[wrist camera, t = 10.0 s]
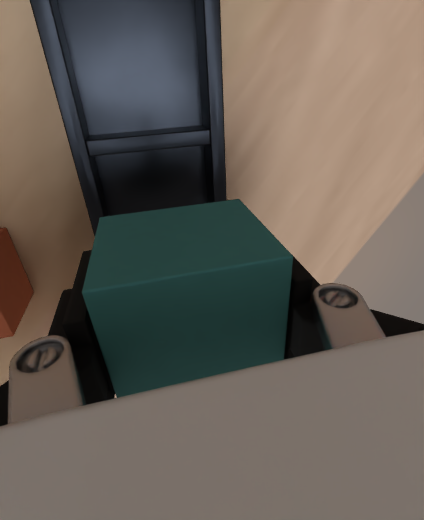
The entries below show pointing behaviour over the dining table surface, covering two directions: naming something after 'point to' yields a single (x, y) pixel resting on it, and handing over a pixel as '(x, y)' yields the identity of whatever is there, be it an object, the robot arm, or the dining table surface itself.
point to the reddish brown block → (11, 287)
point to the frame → (139, 99)
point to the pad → (186, 294)
